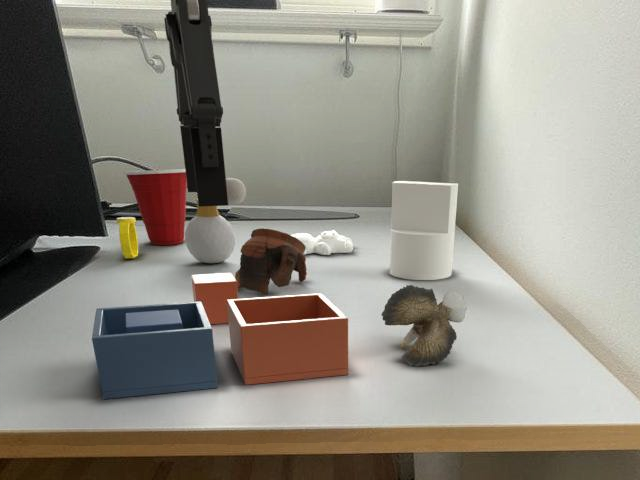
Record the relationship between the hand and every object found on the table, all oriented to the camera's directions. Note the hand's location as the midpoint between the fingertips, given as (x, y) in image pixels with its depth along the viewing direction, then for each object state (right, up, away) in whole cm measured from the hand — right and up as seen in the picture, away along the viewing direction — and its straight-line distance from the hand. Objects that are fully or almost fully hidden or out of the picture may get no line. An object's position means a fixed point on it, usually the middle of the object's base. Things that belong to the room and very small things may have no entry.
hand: (206, 198), depth 68 cm
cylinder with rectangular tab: (+25, +1, +28) cm, 37 cm away
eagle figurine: (+22, -16, -3) cm, 28 cm away
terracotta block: (0, -11, +6) cm, 13 cm away
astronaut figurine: (+9, +9, +43) cm, 45 cm away
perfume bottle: (-6, +5, +34) cm, 35 cm away
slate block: (-2, -19, -10) cm, 22 cm away
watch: (-20, +6, +37) cm, 42 cm away
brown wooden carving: (+4, -4, +20) cm, 21 cm away
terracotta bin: (+9, -18, -7) cm, 21 cm away
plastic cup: (-19, +13, +49) cm, 54 cm away
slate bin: (-2, -20, -10) cm, 22 cm away
